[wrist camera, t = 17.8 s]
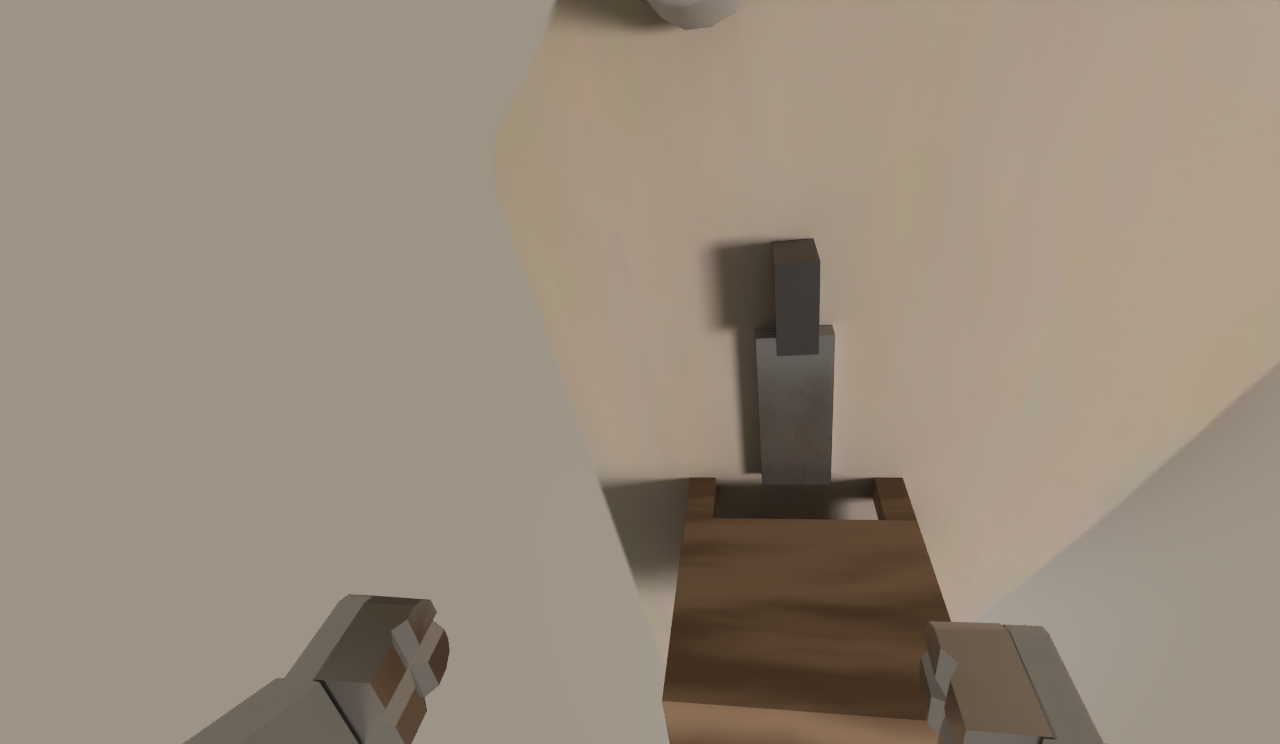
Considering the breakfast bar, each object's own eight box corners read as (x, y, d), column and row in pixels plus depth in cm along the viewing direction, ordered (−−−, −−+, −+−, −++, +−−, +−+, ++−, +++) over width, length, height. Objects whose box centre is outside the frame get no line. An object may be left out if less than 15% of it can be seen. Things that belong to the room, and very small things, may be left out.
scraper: (751, 243, 38) (752, 265, 34) (834, 236, 37) (843, 259, 33) (761, 472, 47) (762, 507, 43) (828, 471, 46) (834, 508, 42)
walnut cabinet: (690, 477, 48) (662, 700, 32) (902, 478, 45) (985, 725, 29) (701, 575, 54) (681, 807, 38) (891, 581, 50) (956, 837, 35)
